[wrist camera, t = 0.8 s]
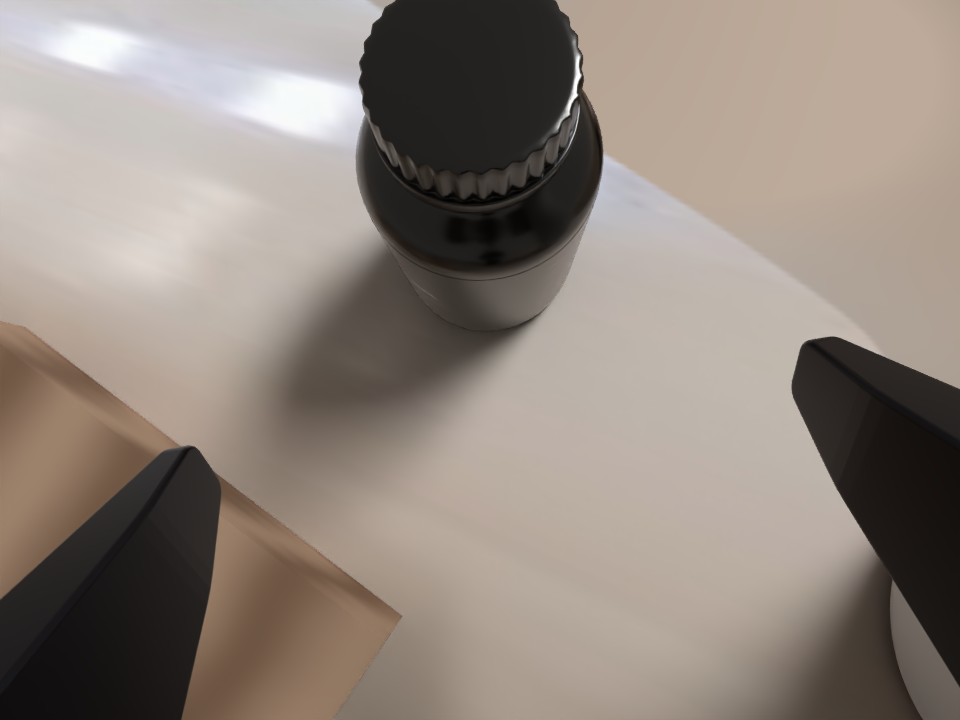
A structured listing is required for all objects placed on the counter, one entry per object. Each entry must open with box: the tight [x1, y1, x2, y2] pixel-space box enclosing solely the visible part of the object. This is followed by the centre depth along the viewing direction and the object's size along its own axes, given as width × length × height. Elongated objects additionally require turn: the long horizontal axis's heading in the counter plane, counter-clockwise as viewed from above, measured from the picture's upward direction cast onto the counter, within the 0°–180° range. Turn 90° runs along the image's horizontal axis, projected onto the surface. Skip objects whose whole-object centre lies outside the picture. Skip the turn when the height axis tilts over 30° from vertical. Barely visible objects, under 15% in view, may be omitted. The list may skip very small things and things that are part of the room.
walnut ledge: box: [0, 321, 402, 720], centre depth 21 cm, size 20×9×3 cm, turn 55°
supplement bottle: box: [356, 0, 603, 331], centre depth 18 cm, size 7×7×12 cm
